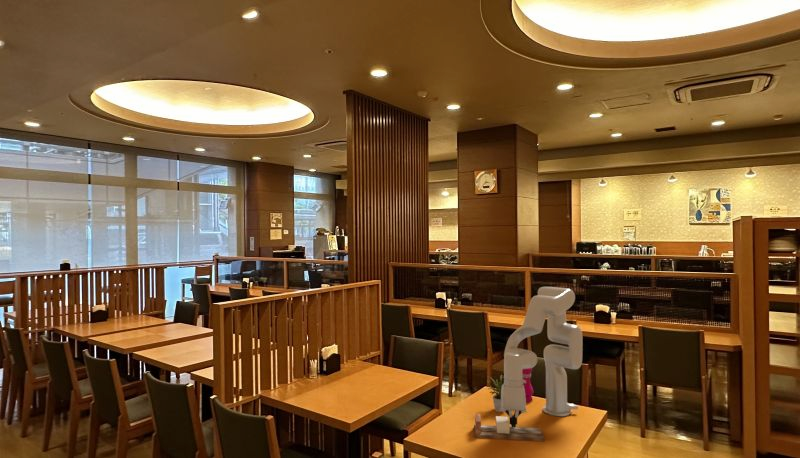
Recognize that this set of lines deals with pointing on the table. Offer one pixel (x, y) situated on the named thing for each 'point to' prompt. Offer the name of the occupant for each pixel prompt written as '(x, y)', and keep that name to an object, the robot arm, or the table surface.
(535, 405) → the table surface
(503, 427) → the block
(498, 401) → the house plant
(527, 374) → the pepper mill
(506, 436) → the rail board
